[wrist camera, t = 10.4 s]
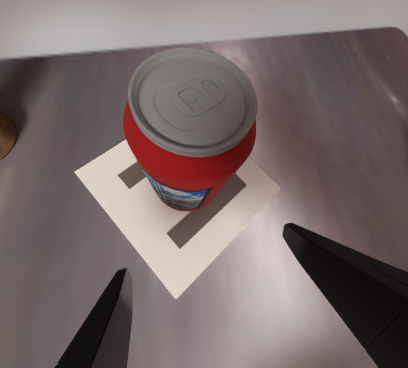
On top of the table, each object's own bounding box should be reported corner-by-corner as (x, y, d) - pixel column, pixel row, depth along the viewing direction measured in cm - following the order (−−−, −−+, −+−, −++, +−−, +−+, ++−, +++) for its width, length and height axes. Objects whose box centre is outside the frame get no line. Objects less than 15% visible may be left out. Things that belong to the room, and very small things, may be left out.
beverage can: (141, 176, 18) (72, 71, 6) (191, 143, 20) (205, 18, 8) (180, 226, 17) (180, 209, 5) (228, 187, 19) (303, 112, 7)
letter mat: (176, 298, 15) (175, 300, 15) (76, 173, 17) (73, 171, 17) (279, 188, 20) (281, 187, 20) (191, 100, 22) (191, 97, 22)
